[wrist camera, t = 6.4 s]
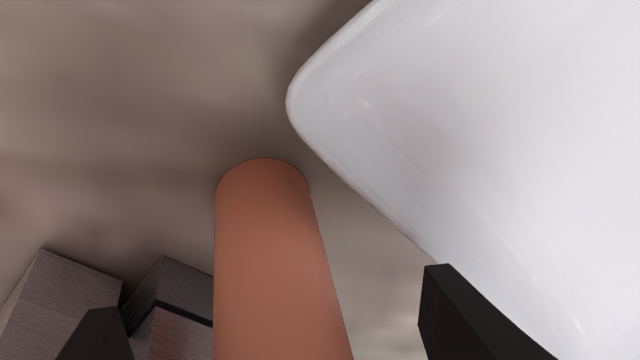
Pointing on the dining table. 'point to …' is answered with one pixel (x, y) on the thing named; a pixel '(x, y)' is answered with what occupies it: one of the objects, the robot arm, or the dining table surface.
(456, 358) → the robot arm
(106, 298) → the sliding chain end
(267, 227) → the link pin
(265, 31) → the dining table surface
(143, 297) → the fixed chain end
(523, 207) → the salad plate
